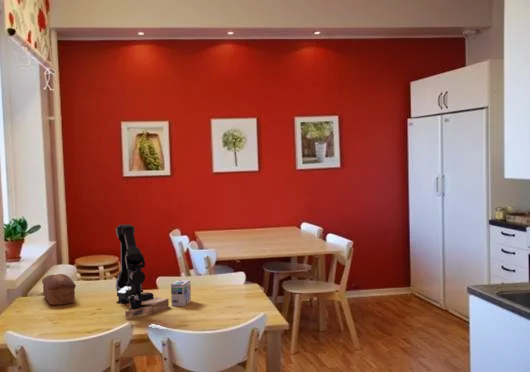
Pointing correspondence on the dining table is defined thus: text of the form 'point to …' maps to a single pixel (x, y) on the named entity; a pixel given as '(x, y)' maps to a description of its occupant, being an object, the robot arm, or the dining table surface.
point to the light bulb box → (180, 292)
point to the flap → (138, 312)
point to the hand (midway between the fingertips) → (135, 313)
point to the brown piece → (154, 304)
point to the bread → (58, 289)
